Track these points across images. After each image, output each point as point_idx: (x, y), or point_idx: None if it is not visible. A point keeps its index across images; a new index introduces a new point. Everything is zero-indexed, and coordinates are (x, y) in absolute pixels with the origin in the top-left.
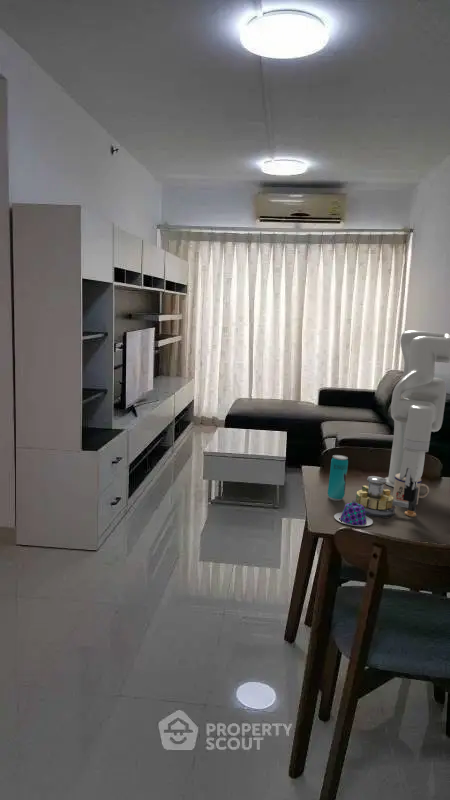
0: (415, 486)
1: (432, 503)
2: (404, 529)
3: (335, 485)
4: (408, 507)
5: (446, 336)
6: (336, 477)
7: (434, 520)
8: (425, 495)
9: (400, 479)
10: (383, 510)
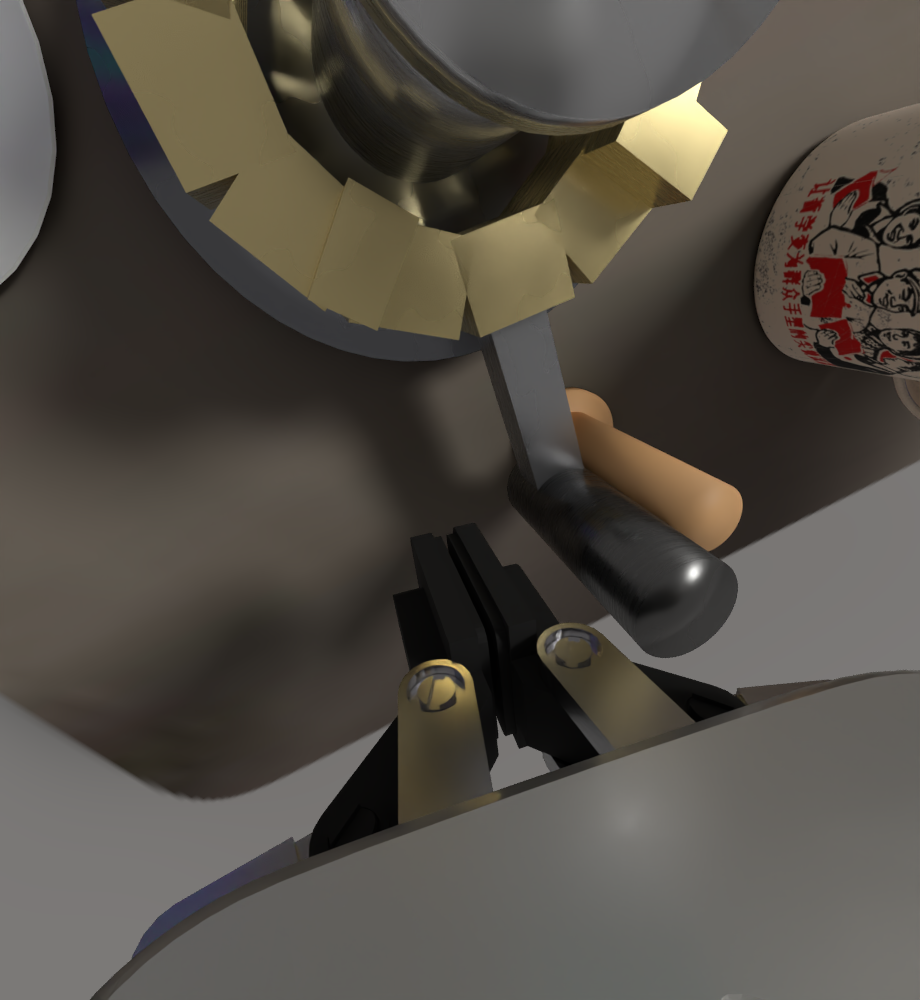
0: (550, 771)
1: (896, 414)
2: (183, 578)
3: None
4: (521, 478)
5: None
6: None
7: (575, 585)
8: (917, 414)
9: (130, 962)
10: None
